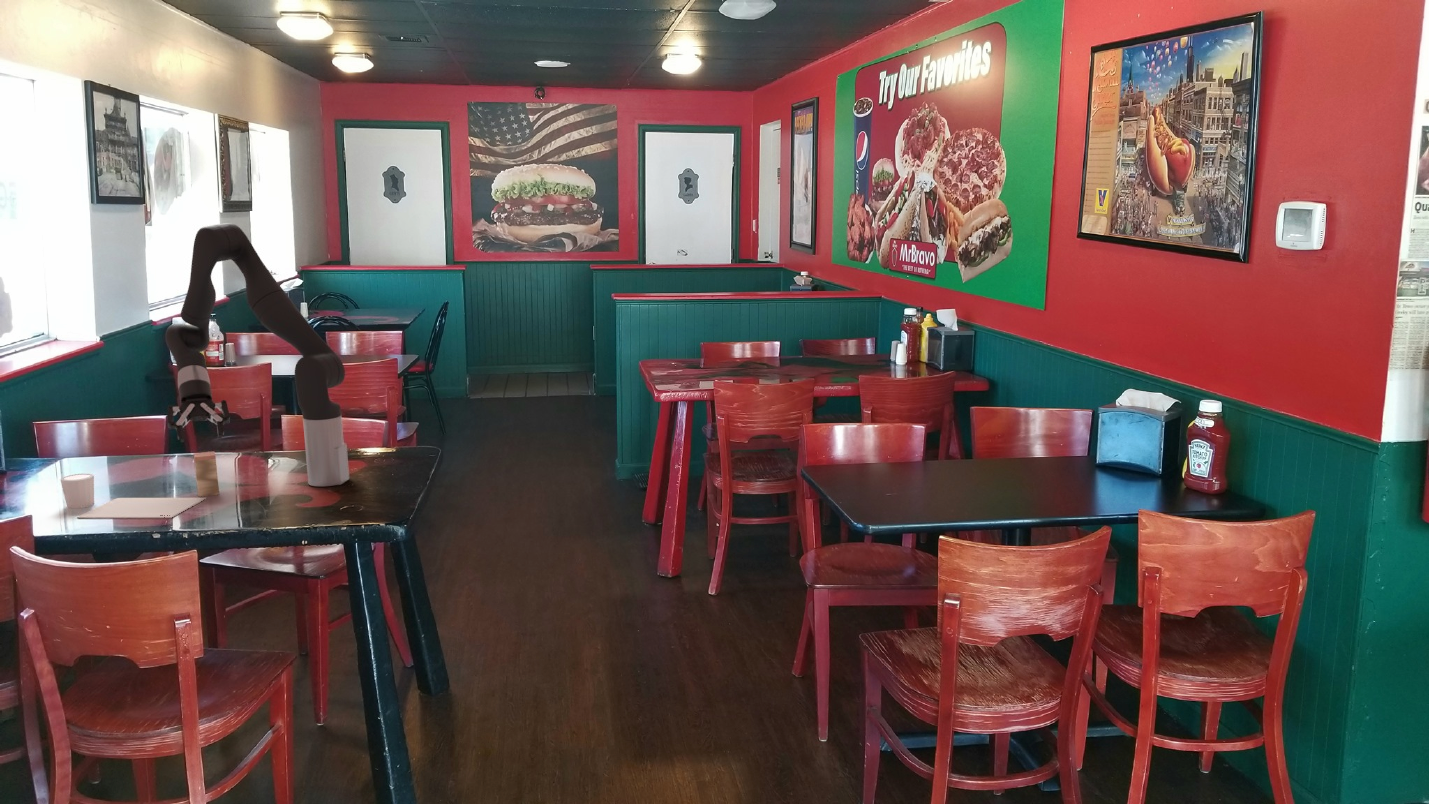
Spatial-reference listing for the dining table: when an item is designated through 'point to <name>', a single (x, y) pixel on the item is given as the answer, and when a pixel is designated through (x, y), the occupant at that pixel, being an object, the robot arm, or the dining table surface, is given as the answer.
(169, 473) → the dining table surface
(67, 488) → the beige tapered cup
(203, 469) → the birch block
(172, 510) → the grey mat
